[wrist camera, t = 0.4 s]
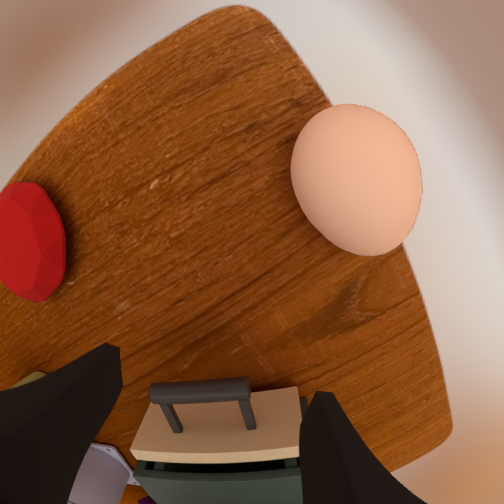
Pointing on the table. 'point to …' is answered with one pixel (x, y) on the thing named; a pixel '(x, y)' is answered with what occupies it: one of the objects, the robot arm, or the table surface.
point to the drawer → (219, 427)
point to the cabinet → (222, 484)
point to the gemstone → (30, 242)
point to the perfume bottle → (146, 500)
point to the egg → (357, 179)
